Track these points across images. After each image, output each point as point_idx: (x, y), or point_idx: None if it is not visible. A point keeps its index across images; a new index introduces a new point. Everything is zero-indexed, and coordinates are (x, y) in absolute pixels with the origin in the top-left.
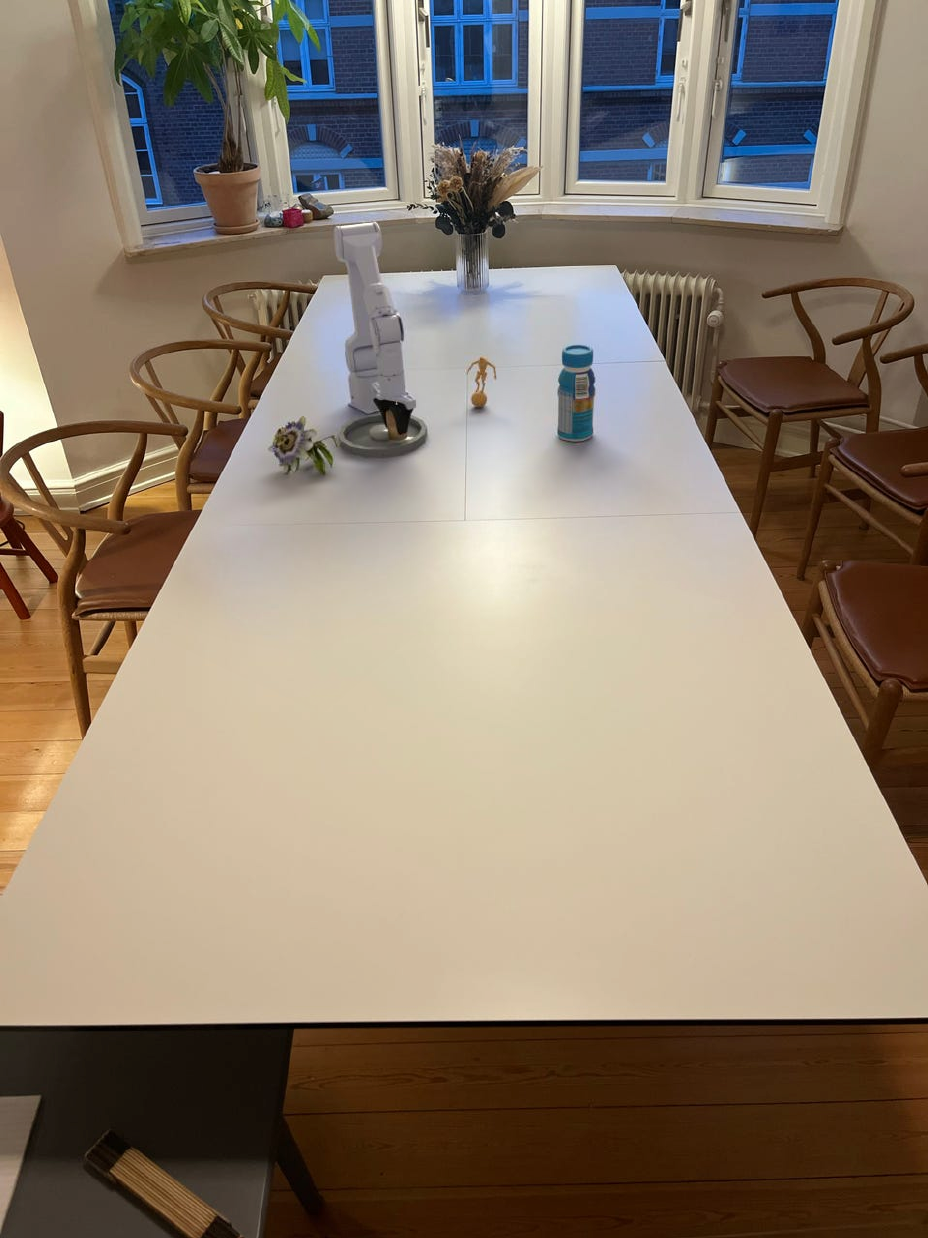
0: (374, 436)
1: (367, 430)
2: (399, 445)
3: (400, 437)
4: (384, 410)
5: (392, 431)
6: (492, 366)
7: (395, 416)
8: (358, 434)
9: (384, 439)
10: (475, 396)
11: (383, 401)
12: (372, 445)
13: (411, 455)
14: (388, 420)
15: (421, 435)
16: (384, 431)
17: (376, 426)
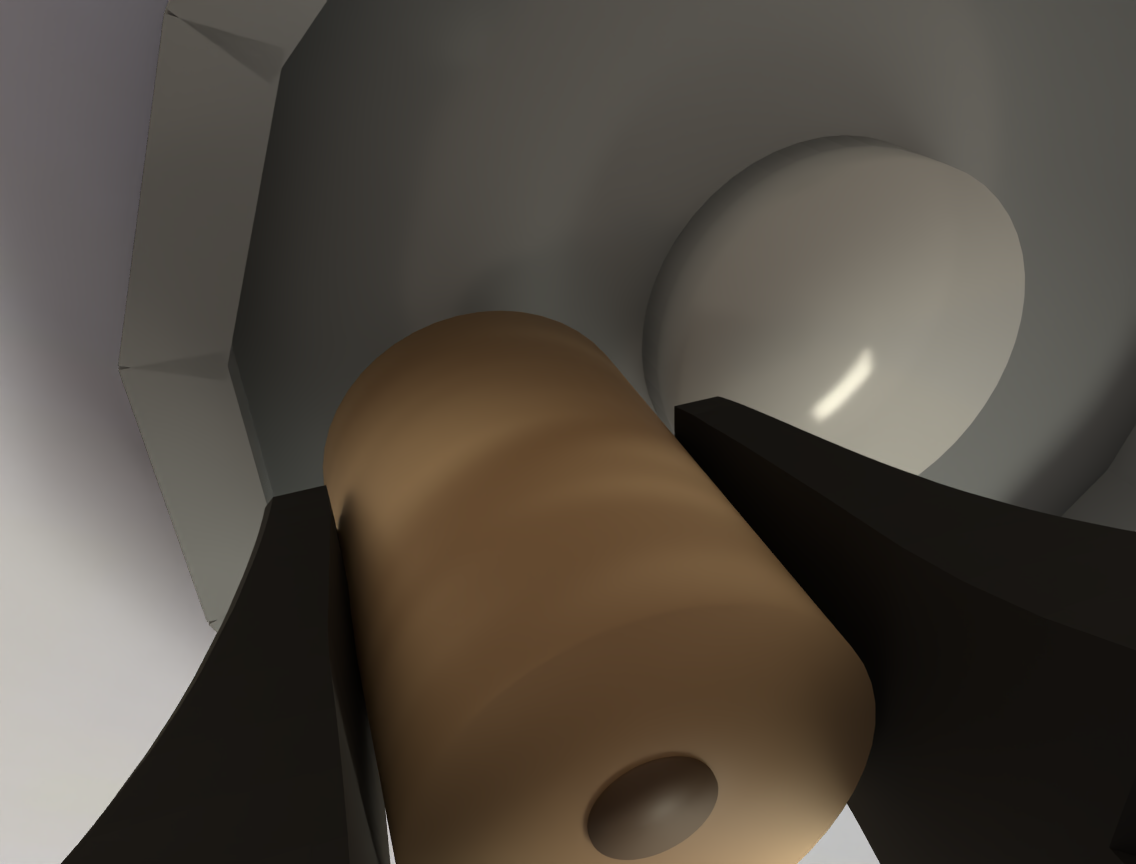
0: (806, 170)
1: (1074, 214)
2: (167, 363)
3: (326, 476)
4: (904, 614)
5: (427, 428)
6: None
7: (201, 800)
8: (1090, 45)
9: (669, 277)
10: None
11: (1103, 817)
12: (656, 31)
13: (14, 423)
14: (572, 518)
15: None
16: (797, 359)
17: (999, 327)
